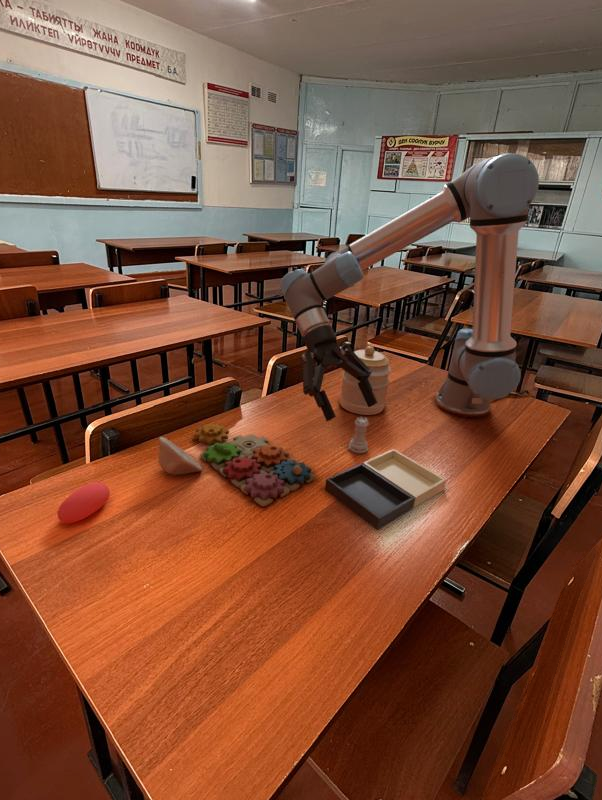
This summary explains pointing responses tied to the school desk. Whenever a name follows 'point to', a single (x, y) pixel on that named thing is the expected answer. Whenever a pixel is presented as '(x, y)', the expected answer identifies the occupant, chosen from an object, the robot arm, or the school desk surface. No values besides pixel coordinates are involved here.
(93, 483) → the stress ball
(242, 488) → the gear puzzle
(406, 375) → the school desk surface
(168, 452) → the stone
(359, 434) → the rook chess piece
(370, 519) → the dark tray
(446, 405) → the robot arm
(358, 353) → the jar
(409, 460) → the light tray
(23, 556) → the school desk surface
